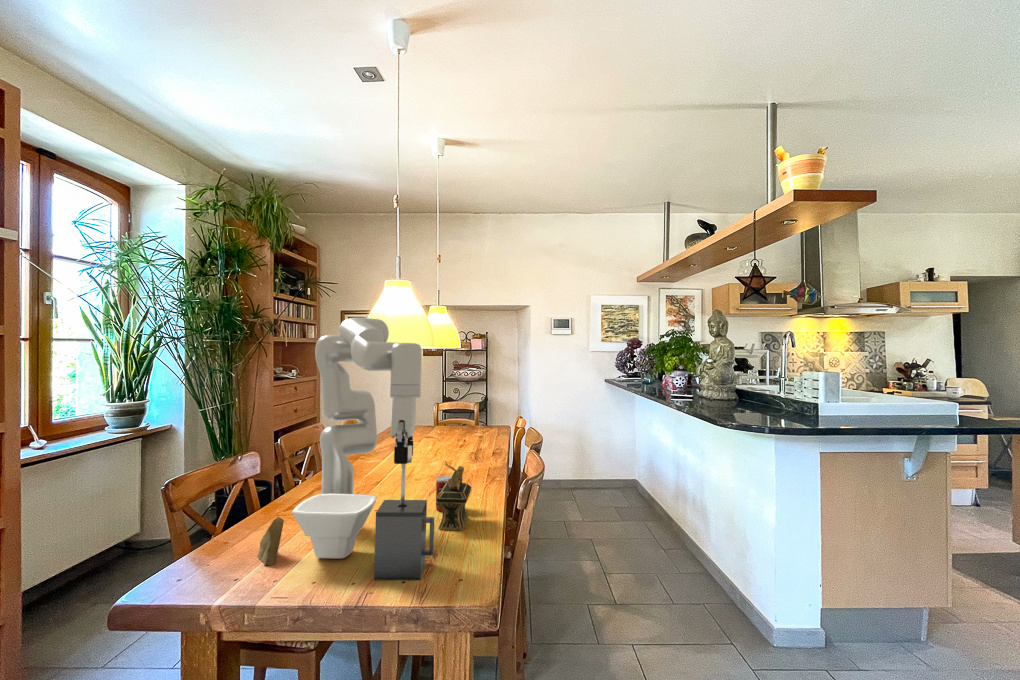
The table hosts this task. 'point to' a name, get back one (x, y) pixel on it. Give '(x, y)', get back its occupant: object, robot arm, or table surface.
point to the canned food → (439, 485)
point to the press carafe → (402, 540)
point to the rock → (271, 542)
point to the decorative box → (454, 501)
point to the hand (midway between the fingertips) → (403, 459)
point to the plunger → (404, 476)
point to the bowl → (333, 521)
